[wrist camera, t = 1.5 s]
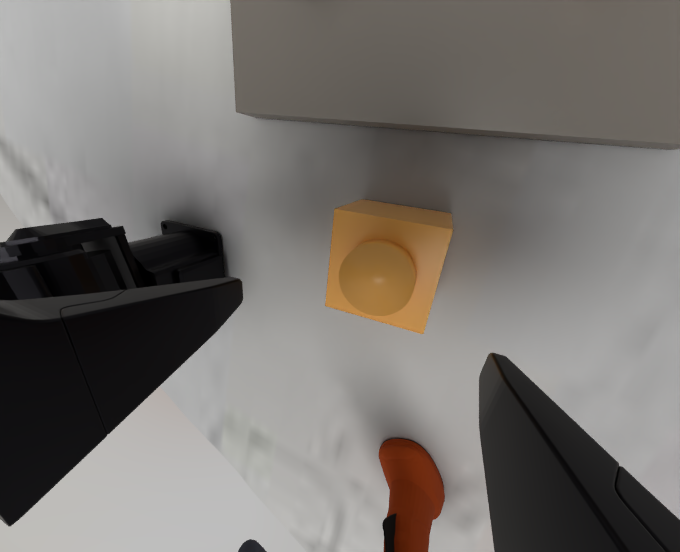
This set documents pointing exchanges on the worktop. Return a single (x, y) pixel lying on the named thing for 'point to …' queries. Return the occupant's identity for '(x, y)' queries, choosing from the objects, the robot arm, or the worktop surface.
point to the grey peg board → (466, 66)
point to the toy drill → (403, 497)
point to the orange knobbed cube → (387, 261)
